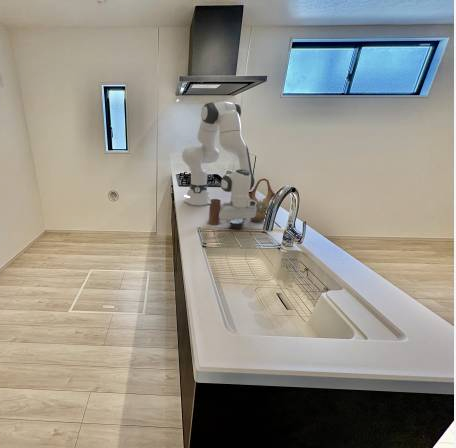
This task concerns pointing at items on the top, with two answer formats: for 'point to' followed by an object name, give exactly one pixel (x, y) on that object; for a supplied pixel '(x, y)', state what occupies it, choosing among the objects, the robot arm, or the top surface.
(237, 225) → the jar lid
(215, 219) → the coffee jar
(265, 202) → the ceramic vessel
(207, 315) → the top surface
